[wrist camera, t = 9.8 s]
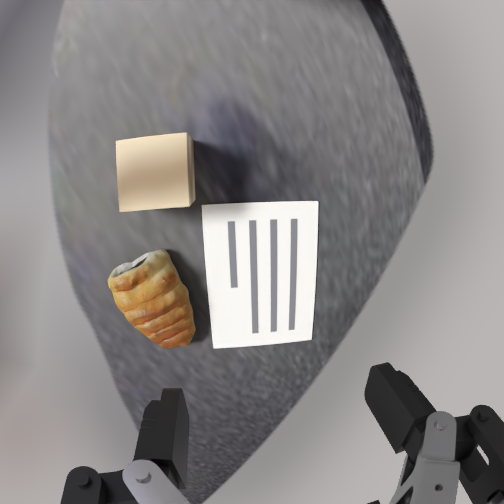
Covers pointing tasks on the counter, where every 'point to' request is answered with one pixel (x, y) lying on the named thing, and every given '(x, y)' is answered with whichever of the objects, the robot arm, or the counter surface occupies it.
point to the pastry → (154, 299)
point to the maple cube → (155, 172)
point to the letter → (260, 271)
